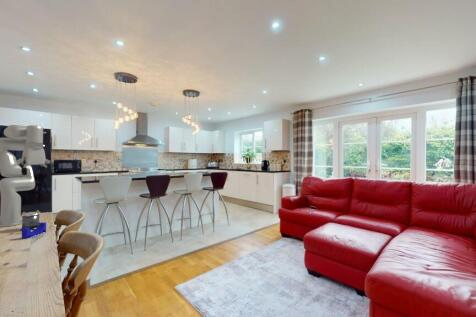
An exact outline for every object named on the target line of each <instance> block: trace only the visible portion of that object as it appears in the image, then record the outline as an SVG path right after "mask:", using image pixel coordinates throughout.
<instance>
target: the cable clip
mask: <svg viewBox="0 0 476 317" xmlns="http://www.w3.org/2000/svg"><path fill="white" fill-rule="evenodd" d="M21 228H22V227H21ZM43 232H45V233H47V221H45V222H43V221H41V222H39V226H38V228H35V229H34V230H32V231H30V228H22V231H21V240H22V239H23V240H28V239H30V238H33V236H34V237H35V235H36V236H39V235H42V234H44V233H43ZM41 233H42V234H41ZM38 234H39V235H38Z"/></svg>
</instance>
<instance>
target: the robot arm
mask: <svg viewBox="0 0 476 317" xmlns="http://www.w3.org/2000/svg"><path fill="white" fill-rule="evenodd" d="M3 135H4V136H5V137H0V175H1V176H2V177H4V178H2V179H0V227H1V228H4V227H12V226H13V227H14V226H19V225H22V219H21V218H22V216H21V214H22V212H21V211H22V210H21V209H22V198H21V195H20V194H19V193H18V192H22V191H23V192H24V191H31V190H34V189H35V187H36V180H35V175H34V170H33V167H32V166H34V165H35V166H36V165H37V166H40V174H41V175H46V172H47V168H48V167H49V165H50V163H51V162H52V160H49V159H47V158H46V152H45V149H44V148H45V147H46V146H45V144H44V128H43V127H42V126H40V125H33V124H31V125H29V124H28V125H18V124H10V125H8V126H7V127H6V128H5V129H4V130H3ZM10 151H22V154H21V155H22V156H21V158H19V159H17V158H16V156H15V155H14V154H13V153H12V152H10Z"/></svg>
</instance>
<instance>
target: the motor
mask: <svg viewBox="0 0 476 317" xmlns="http://www.w3.org/2000/svg"><path fill="white" fill-rule="evenodd" d="M40 215H41V212H40V210H39V209H37V210H36V211H30V212H25V211H23V212H22V213H21V218H22V219H21V220H22V224H21V228H20V231H21V232H22V228H30V231H31V230H32V231H33V230H34V229H35V228H38V226H39V223H40ZM32 231H31V232H32Z"/></svg>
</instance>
